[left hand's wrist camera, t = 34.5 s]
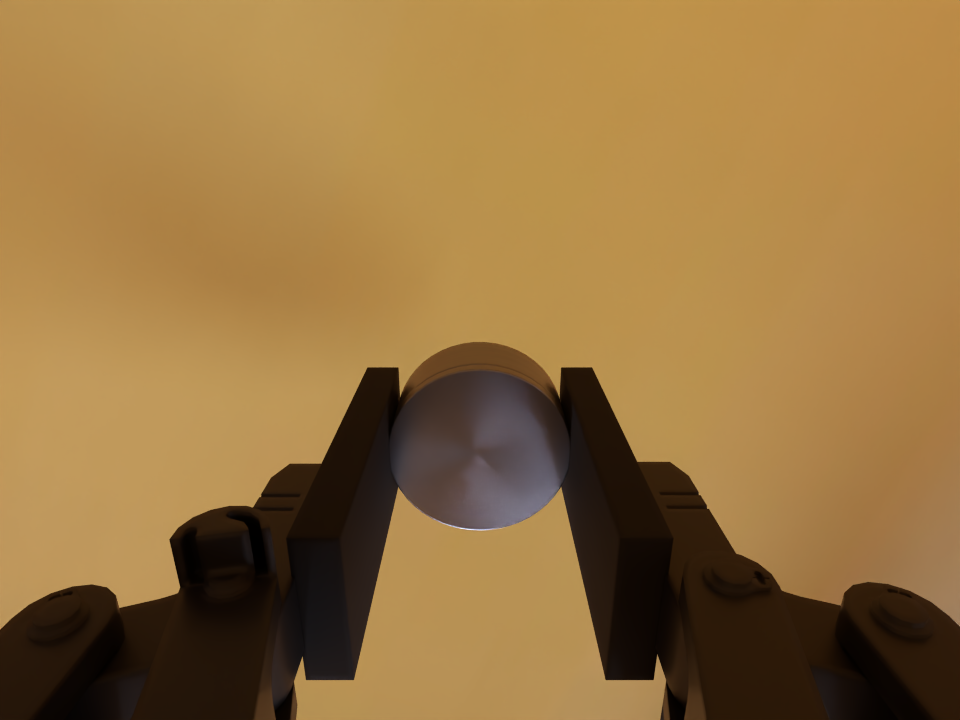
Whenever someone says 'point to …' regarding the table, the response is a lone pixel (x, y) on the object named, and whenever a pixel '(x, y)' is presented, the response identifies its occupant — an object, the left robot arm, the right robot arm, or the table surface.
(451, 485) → the cap
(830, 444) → the table surface
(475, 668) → the table surface
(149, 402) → the table surface
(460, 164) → the table surface
